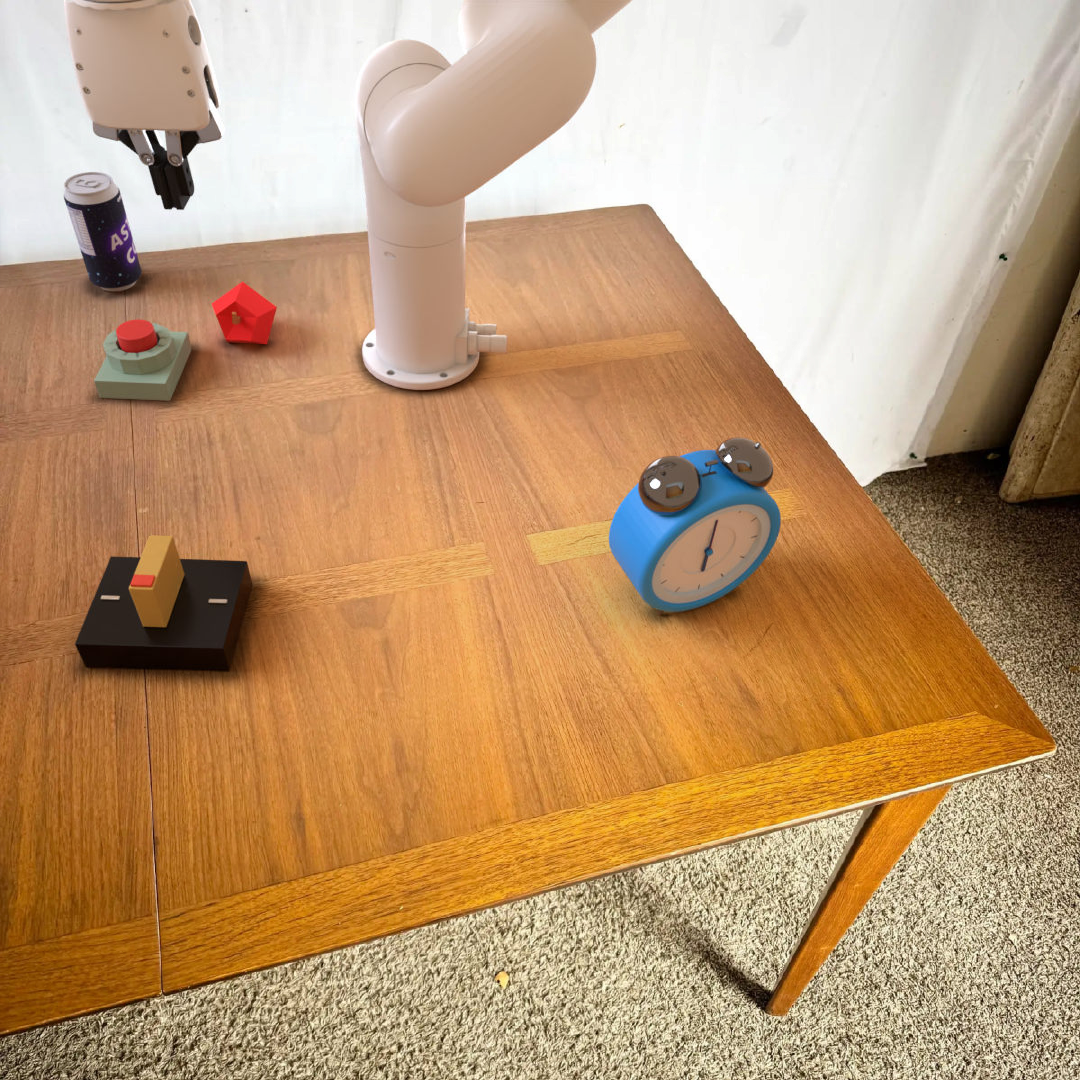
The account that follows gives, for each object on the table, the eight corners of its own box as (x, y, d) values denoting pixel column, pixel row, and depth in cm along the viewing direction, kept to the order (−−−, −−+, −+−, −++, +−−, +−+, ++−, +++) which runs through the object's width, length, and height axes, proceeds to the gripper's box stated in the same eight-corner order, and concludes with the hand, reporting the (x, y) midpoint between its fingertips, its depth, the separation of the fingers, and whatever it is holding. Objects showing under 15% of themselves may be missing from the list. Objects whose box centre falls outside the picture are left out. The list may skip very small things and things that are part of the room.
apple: (225, 268, 105) (202, 281, 97) (287, 284, 106) (269, 299, 98) (217, 329, 108) (194, 346, 100) (278, 344, 108) (260, 363, 101)
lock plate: (253, 584, 81) (246, 559, 79) (229, 671, 75) (222, 647, 72) (120, 580, 80) (110, 554, 78) (85, 667, 74) (73, 642, 72)
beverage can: (128, 298, 109) (99, 198, 100) (82, 290, 110) (49, 190, 101) (152, 272, 113) (126, 174, 104) (107, 265, 114) (77, 166, 105)
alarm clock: (631, 633, 80) (657, 503, 69) (597, 581, 83) (617, 450, 73) (762, 589, 84) (807, 460, 73) (725, 541, 88) (761, 412, 77)
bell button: (126, 332, 98) (121, 318, 97) (161, 334, 99) (157, 319, 97) (115, 353, 96) (110, 338, 95) (152, 355, 96) (148, 340, 95)
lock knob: (162, 573, 77) (148, 532, 74) (185, 574, 77) (172, 533, 74) (142, 627, 73) (127, 586, 70) (166, 627, 73) (152, 587, 70)
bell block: (125, 346, 103) (116, 314, 100) (192, 349, 103) (184, 317, 100) (99, 398, 97) (88, 365, 94) (170, 401, 97) (161, 368, 94)
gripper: (229, -40, 75) (270, 184, 88) (36, -46, 75) (107, 180, 88) (205, -7, 70) (253, 225, 83) (-2, -14, 70) (80, 221, 83)
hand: (178, 202), depth 86 cm, fingers closed
